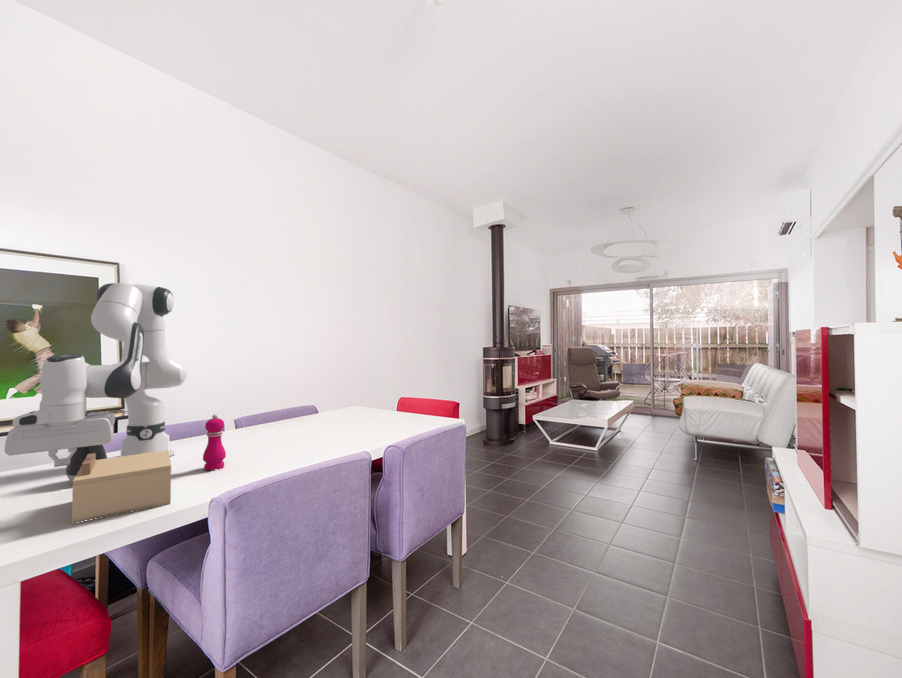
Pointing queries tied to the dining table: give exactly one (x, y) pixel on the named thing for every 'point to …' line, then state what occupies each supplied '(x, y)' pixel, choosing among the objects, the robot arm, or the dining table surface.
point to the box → (120, 495)
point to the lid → (121, 466)
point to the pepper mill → (214, 444)
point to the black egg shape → (80, 457)
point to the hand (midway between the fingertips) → (62, 465)
